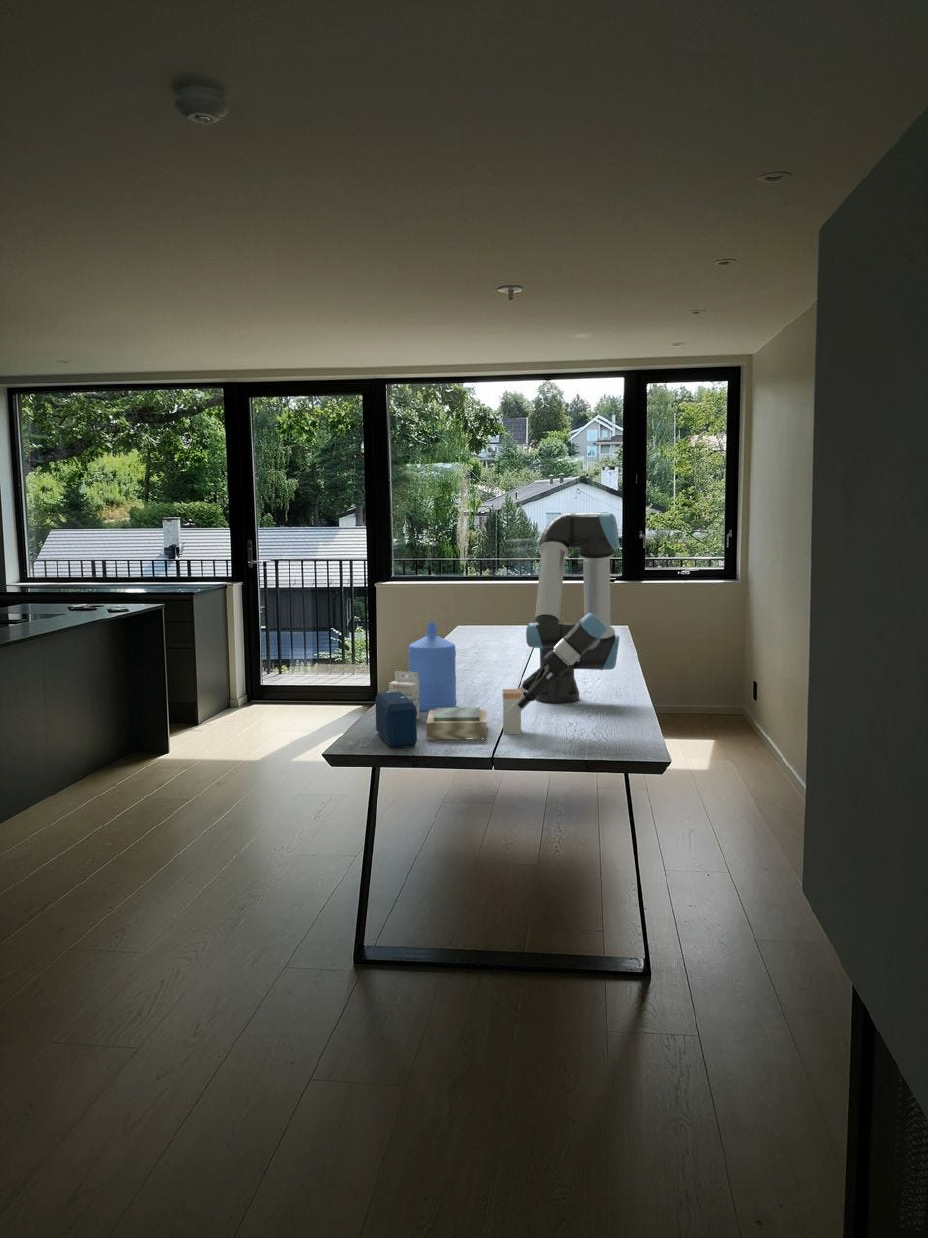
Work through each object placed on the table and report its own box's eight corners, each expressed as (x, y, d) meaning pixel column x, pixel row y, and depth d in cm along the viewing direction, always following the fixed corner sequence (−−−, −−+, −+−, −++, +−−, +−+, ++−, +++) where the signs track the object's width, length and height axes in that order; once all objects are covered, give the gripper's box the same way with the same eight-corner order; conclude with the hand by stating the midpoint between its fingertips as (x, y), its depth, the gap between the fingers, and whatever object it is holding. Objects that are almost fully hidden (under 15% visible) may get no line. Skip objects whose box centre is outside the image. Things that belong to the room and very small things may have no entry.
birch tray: (486, 725, 278) (486, 706, 277) (486, 739, 261) (486, 718, 260) (430, 725, 278) (429, 706, 278) (426, 739, 261) (426, 719, 261)
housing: (520, 728, 273) (520, 689, 272) (521, 733, 267) (521, 693, 266) (502, 729, 274) (502, 689, 272) (503, 734, 267) (503, 693, 266)
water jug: (446, 713, 295) (445, 627, 291) (401, 710, 300) (399, 625, 297) (463, 704, 309) (462, 621, 306) (420, 701, 315) (418, 619, 311)
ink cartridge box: (388, 720, 287) (387, 673, 285) (395, 716, 292) (394, 670, 290) (414, 721, 284) (413, 674, 282) (420, 718, 289) (419, 672, 287)
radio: (420, 747, 253) (419, 675, 251) (389, 750, 251) (387, 678, 249) (403, 730, 273) (402, 663, 271) (374, 732, 271) (373, 665, 269)
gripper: (575, 674, 255) (521, 727, 257) (566, 659, 280) (517, 709, 282) (555, 655, 254) (502, 709, 256) (548, 642, 279) (499, 692, 281)
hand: (509, 709), depth 269 cm, fingers open, 13 cm apart
